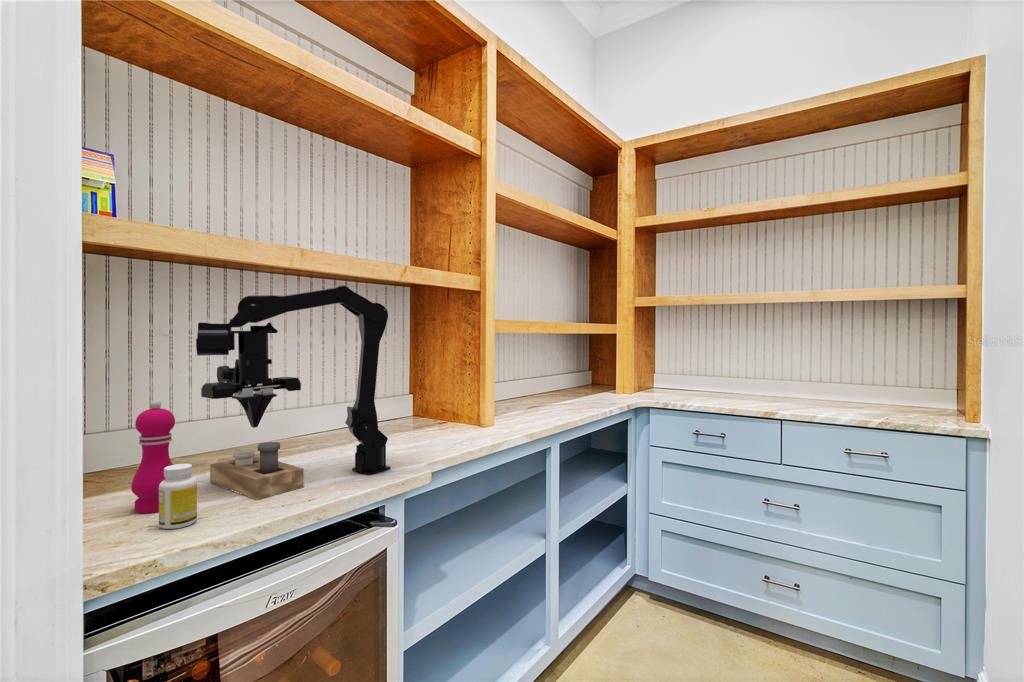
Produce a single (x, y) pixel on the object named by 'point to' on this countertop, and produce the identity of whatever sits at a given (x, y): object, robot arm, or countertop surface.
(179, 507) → the supplement bottle
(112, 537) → the countertop surface
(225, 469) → the oak socket block
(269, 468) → the charcoal plug
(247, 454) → the white plug
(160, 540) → the countertop surface
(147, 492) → the pepper mill
